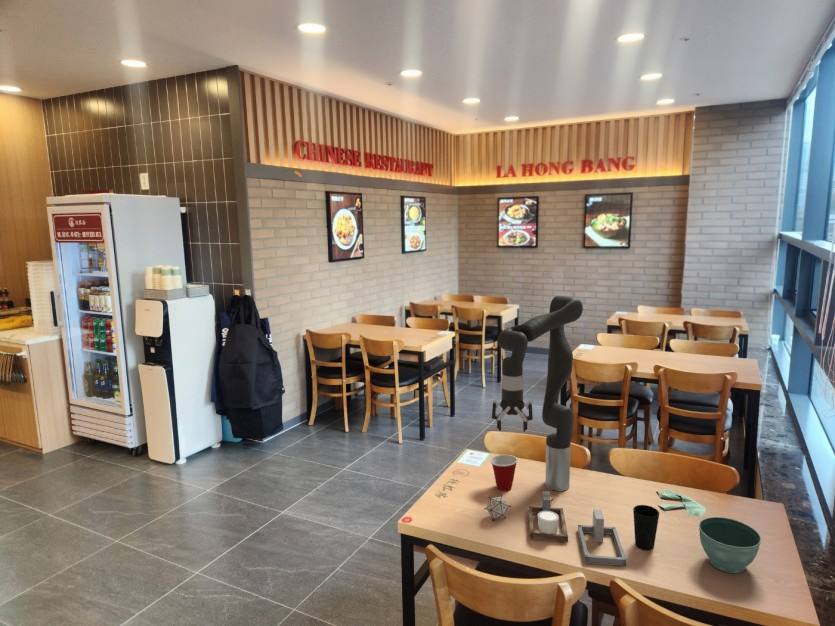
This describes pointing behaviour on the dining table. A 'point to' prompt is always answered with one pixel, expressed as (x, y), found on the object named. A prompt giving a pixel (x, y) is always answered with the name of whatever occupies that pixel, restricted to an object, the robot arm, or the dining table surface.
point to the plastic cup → (504, 471)
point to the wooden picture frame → (547, 507)
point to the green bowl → (729, 543)
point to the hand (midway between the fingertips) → (512, 430)
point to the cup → (645, 526)
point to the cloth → (690, 504)
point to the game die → (497, 507)
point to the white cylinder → (548, 522)
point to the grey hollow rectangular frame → (598, 533)
